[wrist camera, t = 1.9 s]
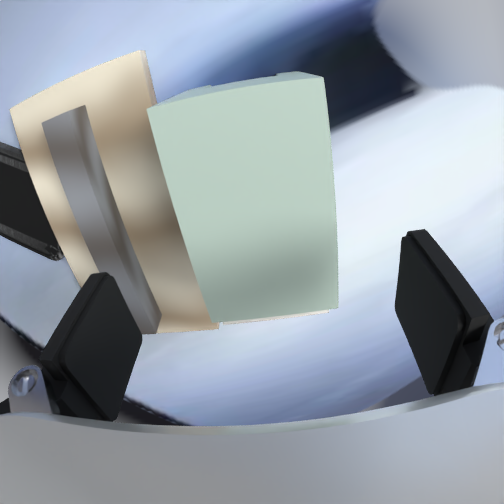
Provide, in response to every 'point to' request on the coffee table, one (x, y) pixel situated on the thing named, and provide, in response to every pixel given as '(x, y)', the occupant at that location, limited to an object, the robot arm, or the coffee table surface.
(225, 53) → the coffee table surface
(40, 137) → the board
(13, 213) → the phone
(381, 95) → the coffee table surface
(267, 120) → the mint green box
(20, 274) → the coffee table surface
